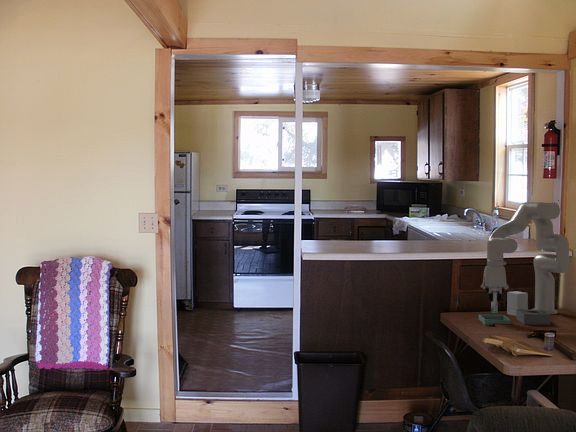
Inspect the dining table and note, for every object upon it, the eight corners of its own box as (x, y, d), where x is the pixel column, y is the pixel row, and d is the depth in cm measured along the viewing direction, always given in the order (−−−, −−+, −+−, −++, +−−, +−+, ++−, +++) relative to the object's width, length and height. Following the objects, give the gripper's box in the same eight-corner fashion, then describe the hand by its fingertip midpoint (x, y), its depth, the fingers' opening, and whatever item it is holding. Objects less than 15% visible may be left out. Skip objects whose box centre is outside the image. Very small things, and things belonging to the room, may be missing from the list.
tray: (478, 320, 278) (478, 314, 278) (503, 320, 276) (503, 315, 276) (484, 325, 266) (484, 319, 266) (511, 326, 264) (511, 320, 264)
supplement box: (528, 317, 285) (528, 293, 284) (517, 318, 282) (517, 293, 282) (517, 314, 292) (517, 290, 291) (506, 315, 289) (506, 291, 289)
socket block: (516, 321, 275) (516, 309, 275) (541, 321, 274) (541, 309, 274) (524, 326, 263) (524, 314, 263) (550, 327, 262) (550, 314, 262)
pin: (488, 311, 273) (488, 287, 273) (497, 311, 273) (498, 287, 272) (490, 313, 269) (491, 288, 269) (500, 313, 268) (500, 288, 268)
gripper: (510, 263, 273) (509, 300, 274) (476, 262, 275) (475, 299, 275) (514, 265, 266) (514, 303, 266) (479, 264, 267) (479, 302, 268)
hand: (494, 301), depth 271 cm, fingers closed on pin, 3 cm apart
